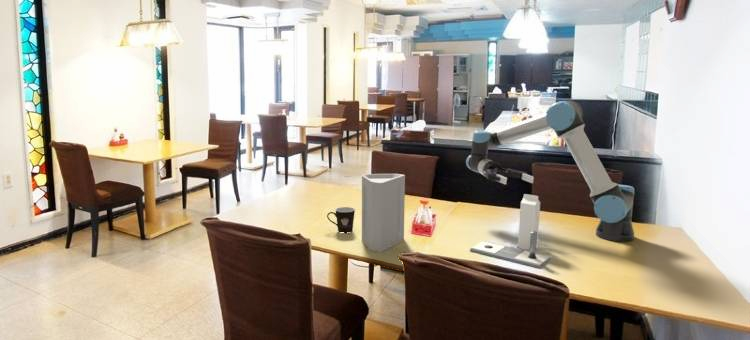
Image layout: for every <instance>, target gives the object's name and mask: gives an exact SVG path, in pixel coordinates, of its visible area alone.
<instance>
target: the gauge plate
mask: <svg viewBox="0 0 750 340" xmlns="http://www.w3.org/2000/svg"><path fill="white" fill-rule="evenodd" d="M469 251H470V252H473V253H475V254H481V255H484V256H489V257H493V258H496V259H500V260H505V261H509V262H512V263H516V264H519V265H520V264H521V265H524V266H529V267H533V268H537V269H540V268H541V267H542V266H544V265H545V264H547V263H548V262H549V261H550V260H551V259H552V256H551V255H546V254H543V253H542V254H541V253H538V252H536V258H530V257H529V250H526V249H522V248H517V247H511V246H506V245H503V244H499V243H494V242H490V241H485V240H484V241H483V240H482V241H480V242H479V243H477V244H475V245H474V246H471V248H469Z"/></svg>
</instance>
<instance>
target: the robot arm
mask: <svg viewBox="0 0 750 340" xmlns="http://www.w3.org/2000/svg"><path fill="white" fill-rule="evenodd" d="M585 125H586V124H585V122H584V121H583V109H582V107H581V105H580V104H579V103H578V102H576V101H574V100H559V101H557V102H555V103H552V104H551V105H550V106H548V109H547V110H546V112H545V113H542V114H539V115H536V116H533V117H531V118H528V119H525V120H524V119H523V120H521V121H519V122H515V123H513V124H511V125H508V126H505V127H502V128H499V129H496V130H494V131H491V132H489V131H488V130H487V131H486V130H474V131H473V135H472V142H471V152H470V155H469V156H467V158H466V160H465V165H466V167H467V168H468V169H469V170H471V171H472V172H475V173H477V174H481V175H482V176H484V177H486V180H487V181H491V182H498V183H500V184H503V185H507V181H508V178H509V177H510V178H517V179H521V180H523V181H525V182H528V183H530V184H534V179H535V178H534V176H533V175H530V174H528V172H527V171H526V170H525V171H521V170H516V169H512V168H510V167H508V168H504V167H502V165H501V164H500V163H499V162H496V161H493V160H492V159H488V152H489V150H490V149H494V148H497V147H499V146H503V145H505V144H509V143H511V142H514V141H518V140H521V139H524V138H526V137H530V136H533V135H536V134H540V133H542V132H545V131H548V130H551V129H552V130H553V131H554V133H555V134H556V137H557V138H559V139H561V140H563V141H564V143H565V145H566V147H567V148H568V151H569V152H570V153H571V154H570V155H571V156H572V158H573V159H574V161H575V164H576V165H577V167H578V169H579V171H580V172H581V174H582V176H583V178H584V180H585V183H587V186H588V187H589V190H590V193H589V197H590V199H591V201H592V203H593V209H594V210H593V211H594V214H595V216H596V217H597V218H598V219H599V222H598V224H597V226H596V230H595V235H596V236H597V237H599V238H601V239H604V240H608V241H613V242H621V243H622V242H623V243H625V242H631V241H633V240H634V239H635V231H634V227H633V223H632V217H633V208H634V207H633V206H634V198H635V187H633V186H631V185H628V184H627V185H626V184H619V183H616V182H613V181H612V180H611V178H610V176H609V174H608V173H607V171H606V168H605V167H604V165H603V163H602V162H601V160H600V158H599V156H598V154H597V152H596V151H595V148H594V147H593V145H592V144H591V142H590V140H589V138H588V136H587V134H586V132H585V131H584V128H585Z"/></svg>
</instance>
